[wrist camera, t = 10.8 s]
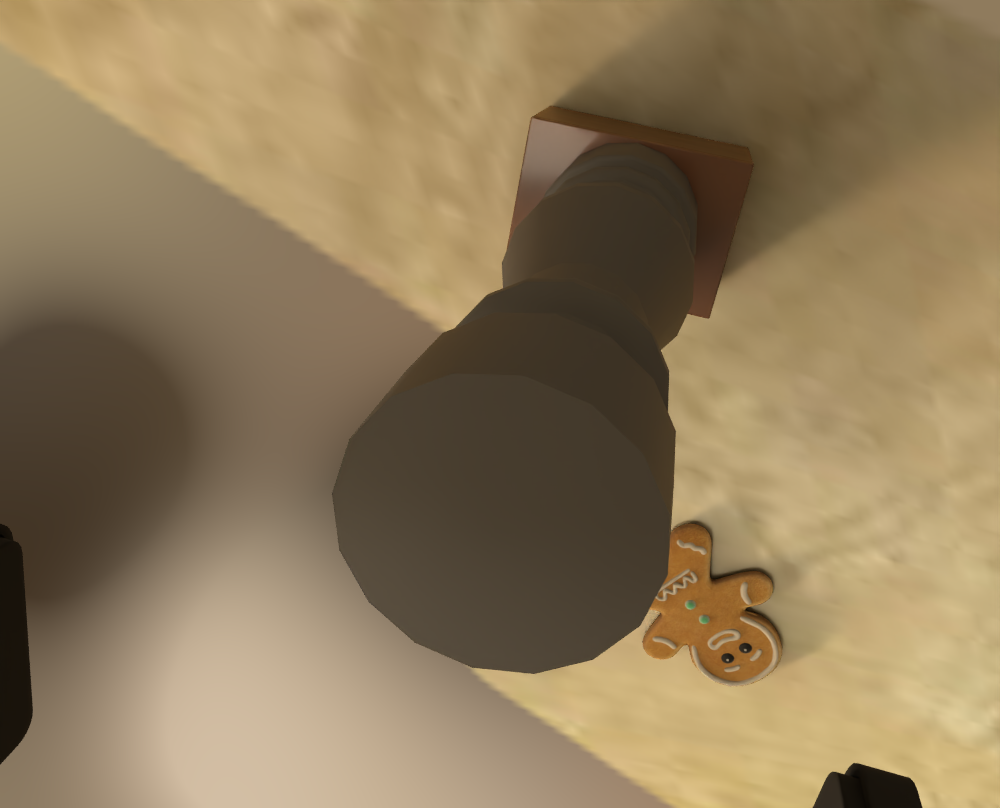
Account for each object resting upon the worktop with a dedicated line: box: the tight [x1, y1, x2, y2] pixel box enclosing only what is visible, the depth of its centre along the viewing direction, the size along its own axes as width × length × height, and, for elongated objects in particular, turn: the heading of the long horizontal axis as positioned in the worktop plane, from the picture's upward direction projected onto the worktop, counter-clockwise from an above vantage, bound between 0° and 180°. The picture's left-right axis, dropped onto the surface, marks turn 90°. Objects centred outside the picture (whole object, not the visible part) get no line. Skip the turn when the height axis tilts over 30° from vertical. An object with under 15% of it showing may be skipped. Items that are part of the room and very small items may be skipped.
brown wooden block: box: [507, 106, 754, 319], centre depth 40 cm, size 6×9×5 cm
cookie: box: [643, 523, 782, 686], centre depth 49 cm, size 8×1×10 cm
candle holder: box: [332, 143, 698, 674], centre depth 26 cm, size 6×6×25 cm
